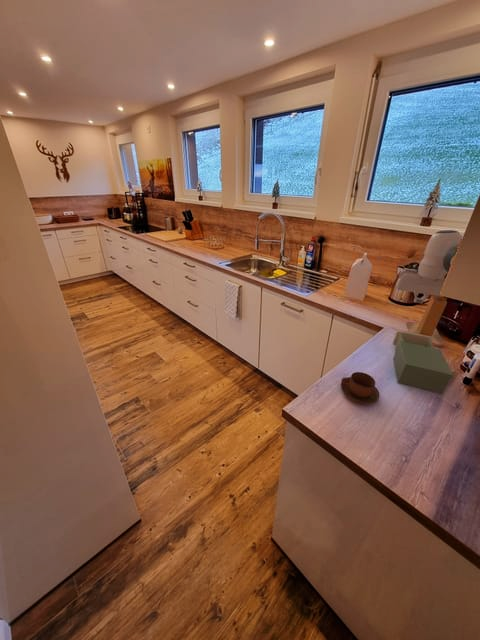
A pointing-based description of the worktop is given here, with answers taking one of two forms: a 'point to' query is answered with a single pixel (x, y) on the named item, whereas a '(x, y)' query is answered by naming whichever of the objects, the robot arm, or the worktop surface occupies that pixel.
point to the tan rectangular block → (432, 315)
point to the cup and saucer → (360, 388)
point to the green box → (421, 367)
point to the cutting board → (435, 337)
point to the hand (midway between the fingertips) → (417, 302)
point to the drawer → (412, 339)
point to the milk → (358, 279)
